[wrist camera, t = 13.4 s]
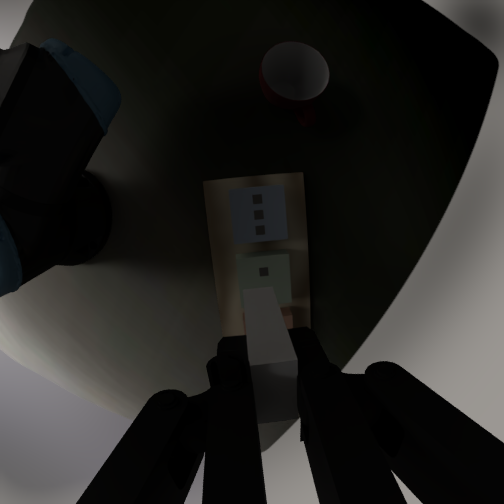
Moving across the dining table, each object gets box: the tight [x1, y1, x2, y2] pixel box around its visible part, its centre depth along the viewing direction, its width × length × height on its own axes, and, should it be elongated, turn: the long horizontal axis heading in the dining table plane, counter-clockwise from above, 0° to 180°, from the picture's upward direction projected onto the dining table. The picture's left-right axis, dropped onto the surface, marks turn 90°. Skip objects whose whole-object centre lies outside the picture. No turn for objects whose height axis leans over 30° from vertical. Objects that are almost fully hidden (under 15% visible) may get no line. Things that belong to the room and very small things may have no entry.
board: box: [203, 172, 311, 337], centre depth 43 cm, size 14×28×3 cm, turn 5°
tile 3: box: [229, 185, 288, 244], centre depth 39 cm, size 7×7×3 cm
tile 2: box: [236, 249, 292, 308], centre depth 41 cm, size 7×7×3 cm
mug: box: [259, 41, 330, 127], centre depth 34 cm, size 10×8×10 cm
